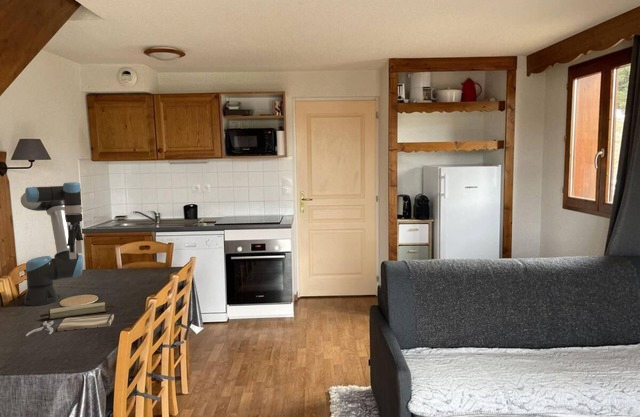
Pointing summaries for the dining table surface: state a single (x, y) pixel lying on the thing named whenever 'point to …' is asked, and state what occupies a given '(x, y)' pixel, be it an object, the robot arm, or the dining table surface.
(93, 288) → the dining table surface
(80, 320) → the marking board
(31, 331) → the pliers
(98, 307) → the rolling pin
